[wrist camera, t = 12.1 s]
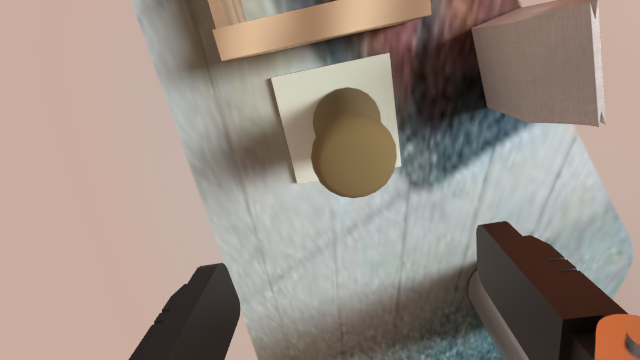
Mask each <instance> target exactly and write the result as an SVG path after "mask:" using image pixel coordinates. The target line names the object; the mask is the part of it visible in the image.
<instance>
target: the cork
mask: <svg viewBox="0 0 640 360" xmlns="http://www.w3.org/2000/svg"><path fill="white" fill-rule="evenodd" d="M313 127H314V132H315V135H316V138H315V140H314V142H313V146H312V153H311V161H312V166H313V170H314V172H315V174H316V176H317V177H318V179H319V181H320V183H321V184H322V185H324V186H325V187H326V188H327V189H328V190H329V191H331V192H333V193H335V194H337V195H339V196H342V197H349V198H357V197H364V196H367V195H370V194H372V193H374V192H376V191H378V190H379V189H380V188H381V187H383V186H384V185H385V184H386V183H387V182H388V180H389V179H390V177H391V175H392V174H393V172H394V168H395V164H396V160H397V152H396V144H395V141H394V139H393V137H392V135H391V133H390V131H389V130H388V129H387V128H386V127H385V126H384V125H383V124H382V123H381V117H380V111H379V108H378V106H377V104H376V102H375V101H374V100H373V99H372V98H371V96H370V95H369V94H367V93H365V92H363V91H362V90H360V89H356V88H349V87H346V88H340V89H336V90H334V91H332V92H330V93H328V94H326V95H325V97H324V98H323V99H322V100H321V101H320V102H319V103H318V105H317V107H316V109H315V112H314V117H313Z"/></svg>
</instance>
